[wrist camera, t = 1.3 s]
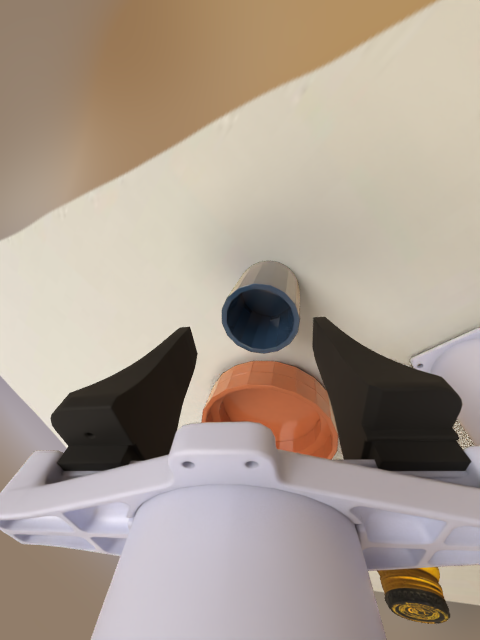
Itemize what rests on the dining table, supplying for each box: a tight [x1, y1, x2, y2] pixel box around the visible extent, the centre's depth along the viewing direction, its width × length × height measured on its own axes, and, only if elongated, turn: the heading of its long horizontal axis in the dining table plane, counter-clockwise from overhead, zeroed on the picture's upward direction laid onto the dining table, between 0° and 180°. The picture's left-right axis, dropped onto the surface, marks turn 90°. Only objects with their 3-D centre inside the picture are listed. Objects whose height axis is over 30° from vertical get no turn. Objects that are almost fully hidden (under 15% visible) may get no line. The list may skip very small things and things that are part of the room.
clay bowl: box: [201, 361, 338, 459], centre depth 29 cm, size 15×15×4 cm
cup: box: [222, 261, 300, 354], centre depth 21 cm, size 6×6×6 cm
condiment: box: [377, 567, 450, 624], centre depth 28 cm, size 7×8×12 cm
